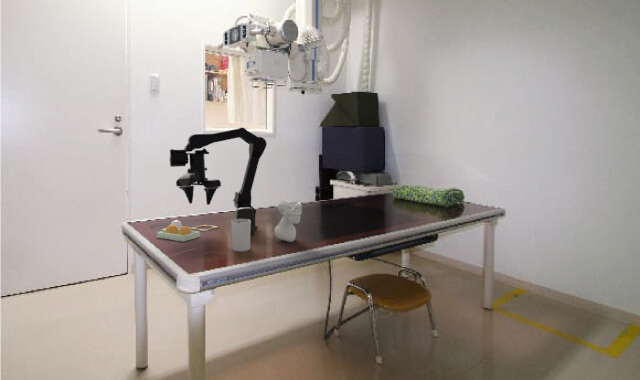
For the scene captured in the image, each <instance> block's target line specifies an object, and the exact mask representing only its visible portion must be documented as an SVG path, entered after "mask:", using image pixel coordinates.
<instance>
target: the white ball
mask: <svg viewBox="0 0 640 380" xmlns="http://www.w3.org/2000/svg"><path fill="white" fill-rule="evenodd" d="M170 225H175V226H177V228H179V229H181V226H183V225H182V222H181V221H180V220H177V219H176V220H173V221H171V223H170Z"/></svg>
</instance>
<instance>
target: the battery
mask: <svg viewBox="0 0 640 380" xmlns="http://www.w3.org/2000/svg"><path fill="white" fill-rule="evenodd" d="M235 209H236V210H235V219H249V220H251V229H250V237H255V228H254V210H253V209H252V208H250V207H243V208H238V209H237V208H235Z"/></svg>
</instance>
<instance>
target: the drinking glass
mask: <svg viewBox="0 0 640 380" xmlns="http://www.w3.org/2000/svg"><path fill="white" fill-rule="evenodd" d="M230 226H231V227H230V228H231V239H232V240H231V241H232V250H233V251H235V252H246V251H249V250H251V236H250V229H251V220H249V219H236V218H235V219H232V220H231V221H230Z"/></svg>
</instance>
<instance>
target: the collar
mask: <svg viewBox="0 0 640 380" xmlns="http://www.w3.org/2000/svg"><path fill="white" fill-rule="evenodd" d="M203 227H204V228H205V227H207V228H205V229H203ZM190 229H191V230H193V231H200V232H208V231H212V230H216V229H219V226H218V225H217V226H216V225H211V224H210V225H209V224H202V225H198V226H197V225H196V226H194V227H190Z"/></svg>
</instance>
